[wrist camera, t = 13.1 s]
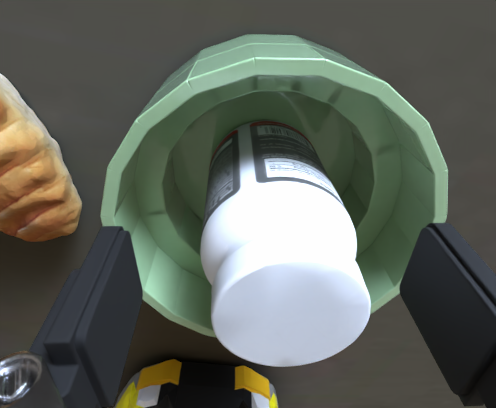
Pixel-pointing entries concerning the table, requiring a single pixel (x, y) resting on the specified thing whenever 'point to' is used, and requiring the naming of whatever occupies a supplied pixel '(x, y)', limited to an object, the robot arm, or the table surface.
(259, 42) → the green bowl
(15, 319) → the table surface
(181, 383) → the gaming controller
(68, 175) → the pastry
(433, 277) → the robot arm
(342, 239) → the pill bottle
